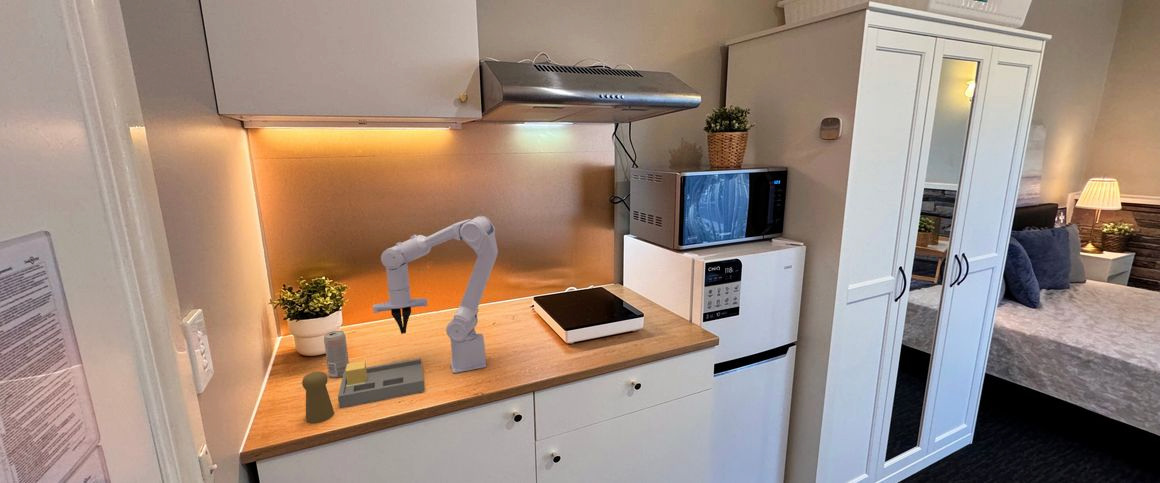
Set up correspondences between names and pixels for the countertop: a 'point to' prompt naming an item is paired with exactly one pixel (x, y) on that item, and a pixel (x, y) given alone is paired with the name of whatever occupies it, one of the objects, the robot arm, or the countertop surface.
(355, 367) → the block
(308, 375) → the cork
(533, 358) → the countertop surface
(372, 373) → the trap tray
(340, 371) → the energy drink
